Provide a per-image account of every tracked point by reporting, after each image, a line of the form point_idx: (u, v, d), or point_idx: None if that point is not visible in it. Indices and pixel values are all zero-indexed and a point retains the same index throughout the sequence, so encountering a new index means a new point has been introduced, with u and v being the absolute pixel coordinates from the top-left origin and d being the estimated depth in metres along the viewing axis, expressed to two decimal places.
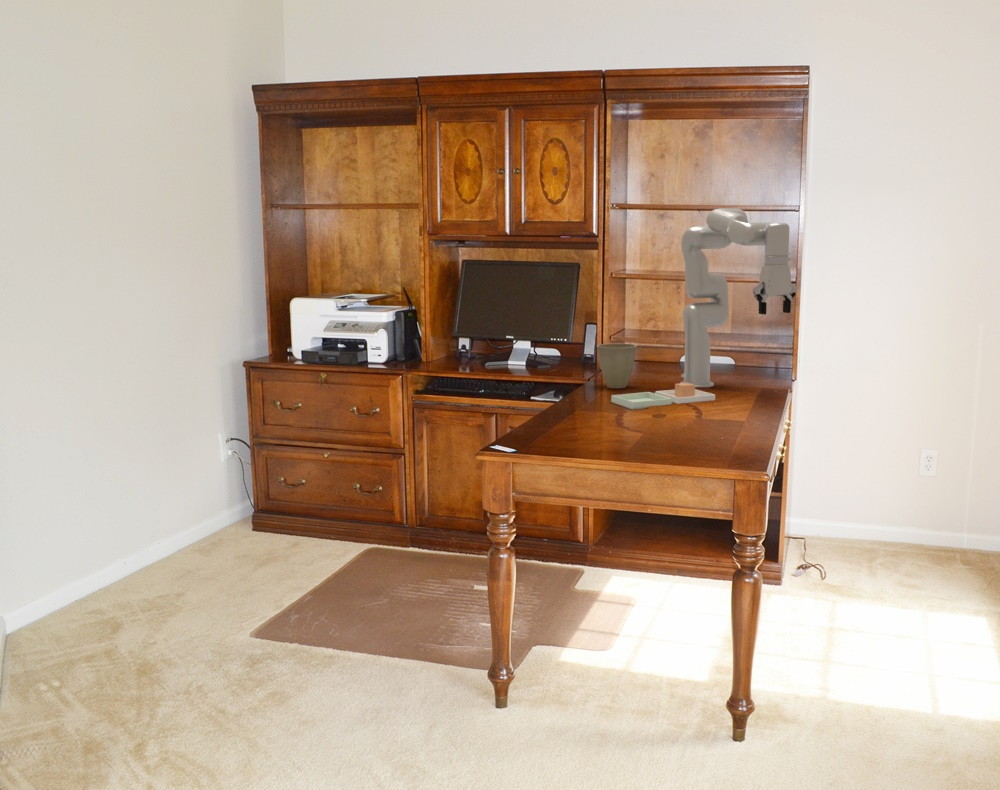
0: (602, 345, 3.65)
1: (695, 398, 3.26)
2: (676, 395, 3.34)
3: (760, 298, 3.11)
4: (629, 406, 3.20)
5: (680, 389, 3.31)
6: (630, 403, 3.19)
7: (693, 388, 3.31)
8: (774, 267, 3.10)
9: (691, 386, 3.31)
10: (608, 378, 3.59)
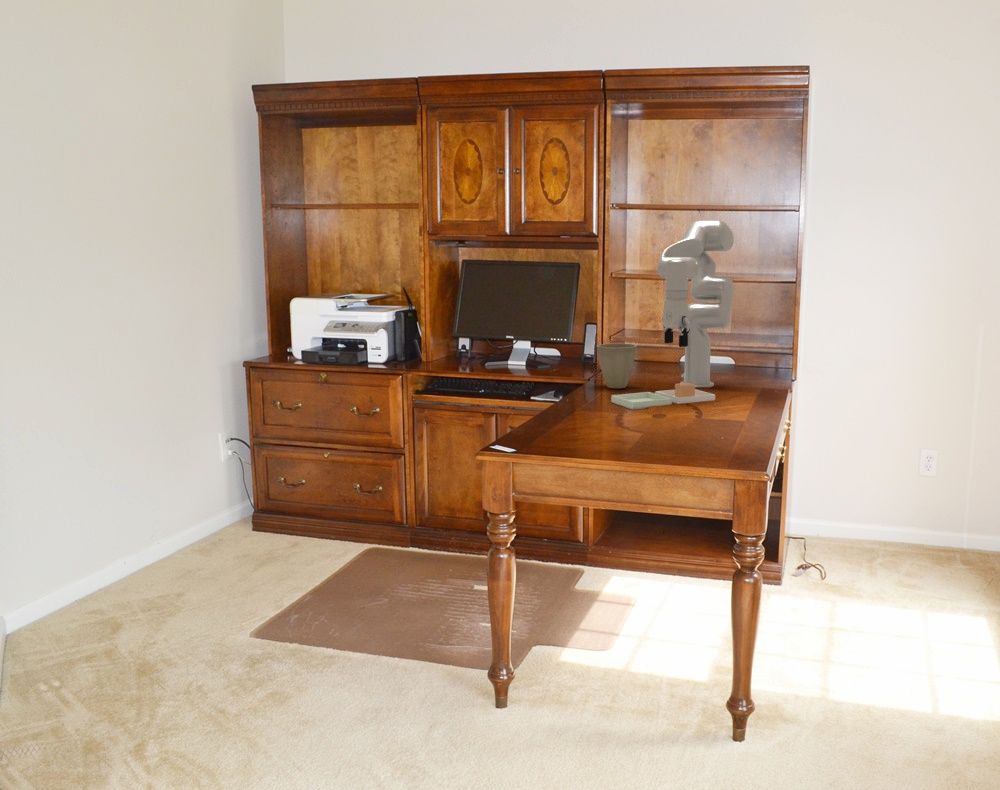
0: (602, 345, 3.65)
1: (695, 398, 3.26)
2: (676, 395, 3.34)
3: None
4: (629, 406, 3.20)
5: (680, 389, 3.31)
6: (630, 403, 3.19)
7: (693, 388, 3.31)
8: None
9: (691, 386, 3.31)
10: (608, 378, 3.59)
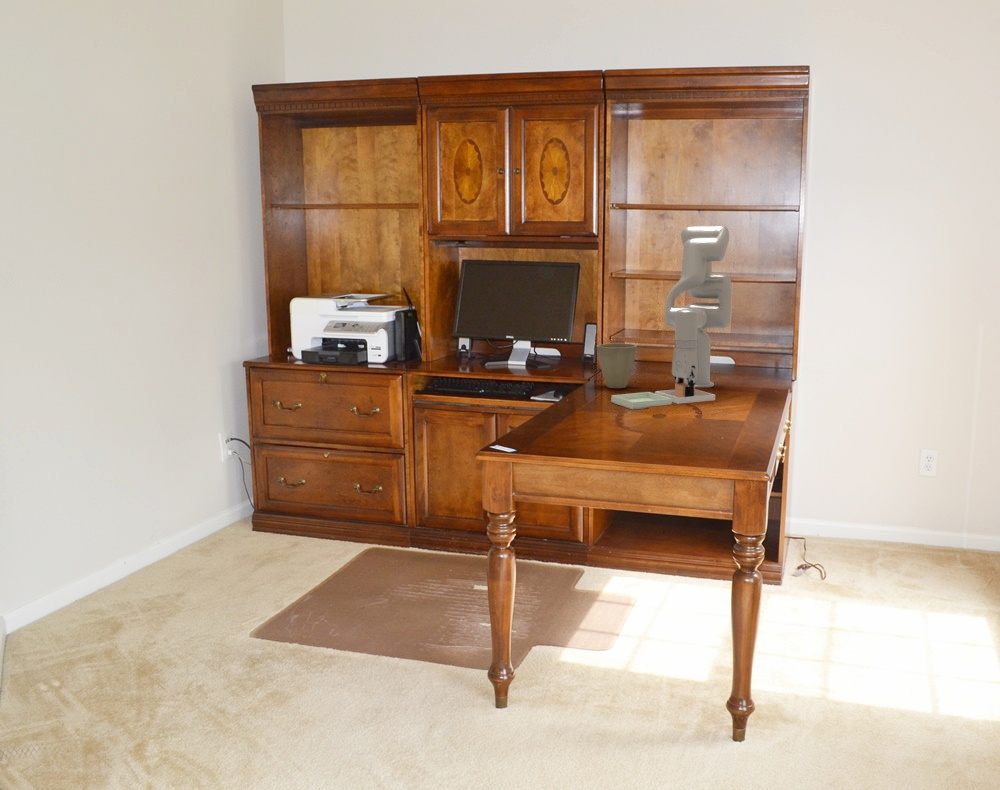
0: (602, 345, 3.65)
1: (695, 398, 3.26)
2: (676, 395, 3.34)
3: None
4: (629, 406, 3.20)
5: (680, 389, 3.31)
6: (630, 403, 3.19)
7: None
8: None
9: None
10: (608, 378, 3.59)
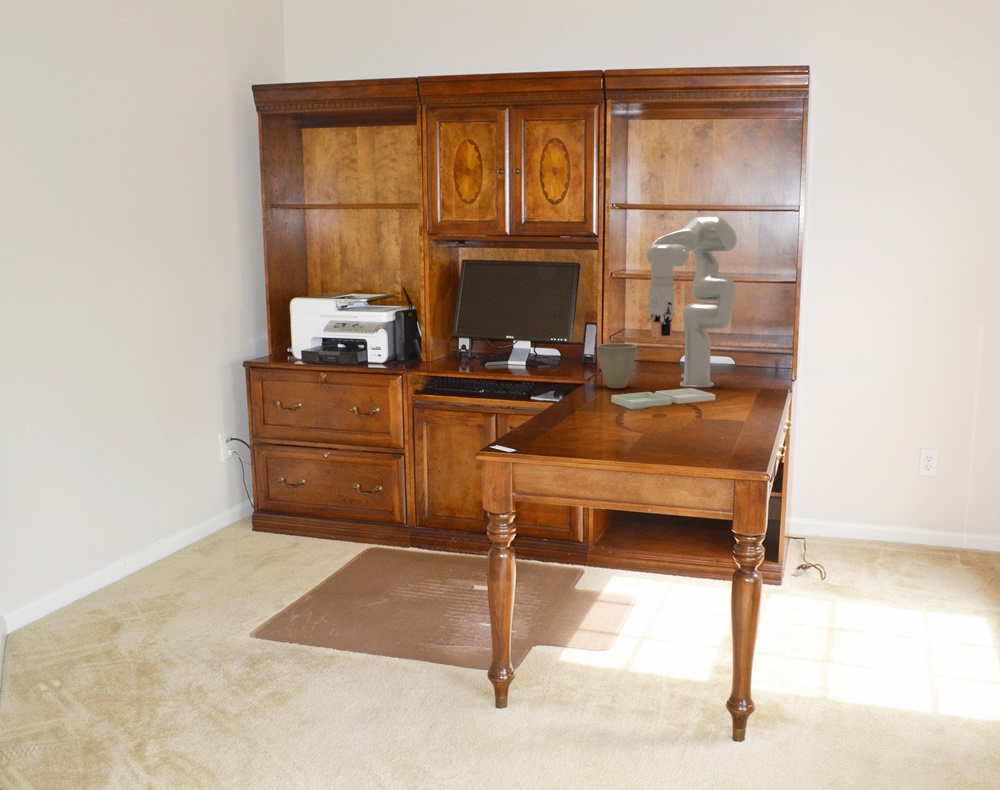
0: (602, 345, 3.65)
1: (695, 398, 3.26)
2: (652, 333, 3.30)
3: None
4: (629, 406, 3.20)
5: (656, 327, 3.27)
6: (630, 403, 3.19)
7: None
8: None
9: None
10: (608, 378, 3.59)
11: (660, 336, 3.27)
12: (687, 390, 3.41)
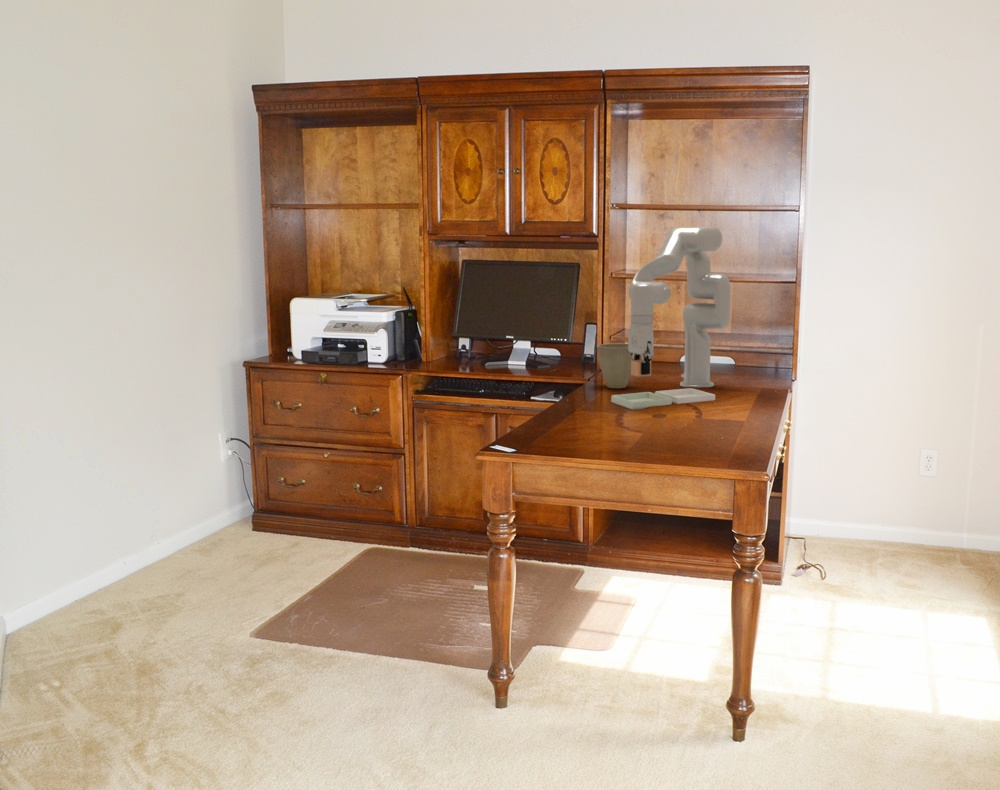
0: (602, 345, 3.65)
1: (695, 398, 3.26)
2: (632, 372, 3.26)
3: None
4: (629, 406, 3.20)
5: (635, 365, 3.23)
6: (630, 403, 3.19)
7: None
8: None
9: None
10: (608, 378, 3.59)
11: (639, 375, 3.22)
12: (687, 390, 3.41)
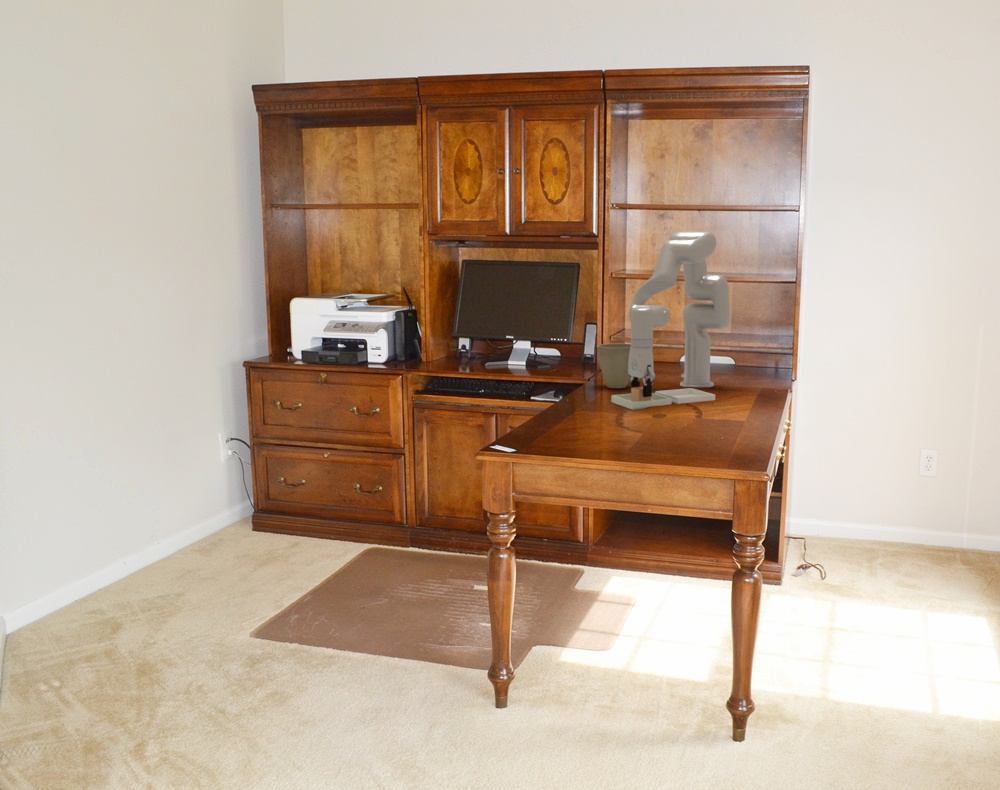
0: (602, 345, 3.65)
1: (695, 398, 3.26)
2: (632, 399, 3.27)
3: None
4: (629, 406, 3.20)
5: (636, 393, 3.25)
6: (630, 403, 3.19)
7: None
8: None
9: None
10: (608, 378, 3.59)
11: None
12: (687, 390, 3.41)
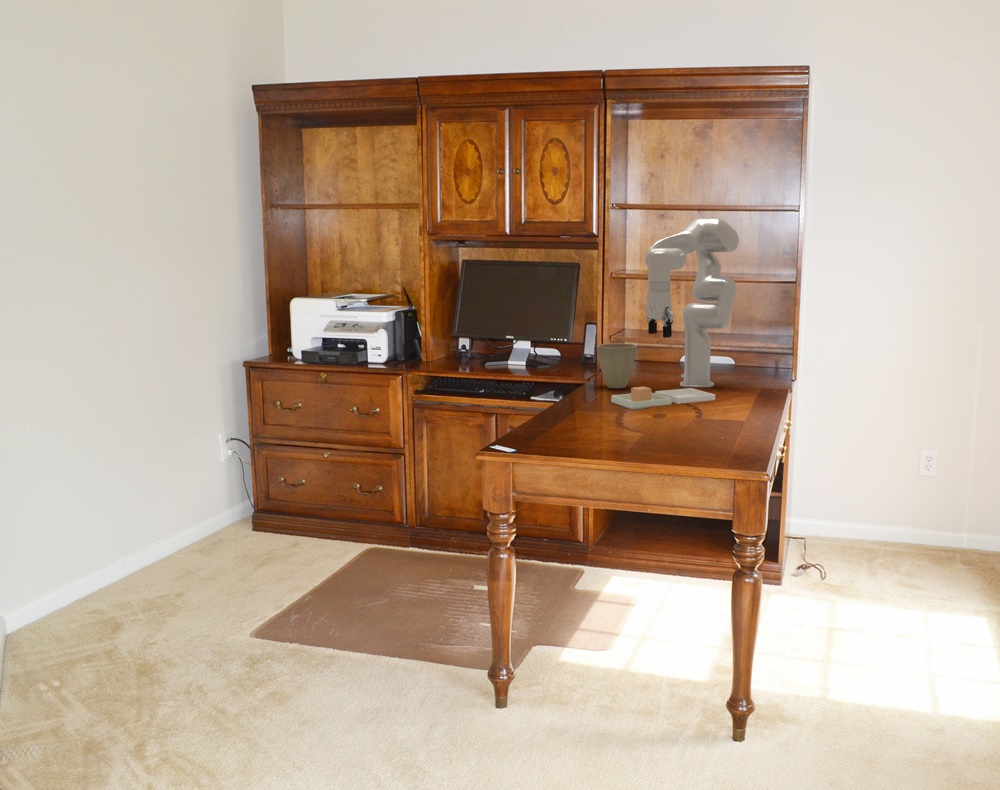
0: (602, 345, 3.65)
1: (695, 398, 3.26)
2: (632, 399, 3.27)
3: None
4: (629, 406, 3.20)
5: (636, 393, 3.25)
6: (630, 403, 3.19)
7: (649, 392, 3.25)
8: None
9: (647, 390, 3.25)
10: (608, 378, 3.59)
11: None
12: (687, 390, 3.41)
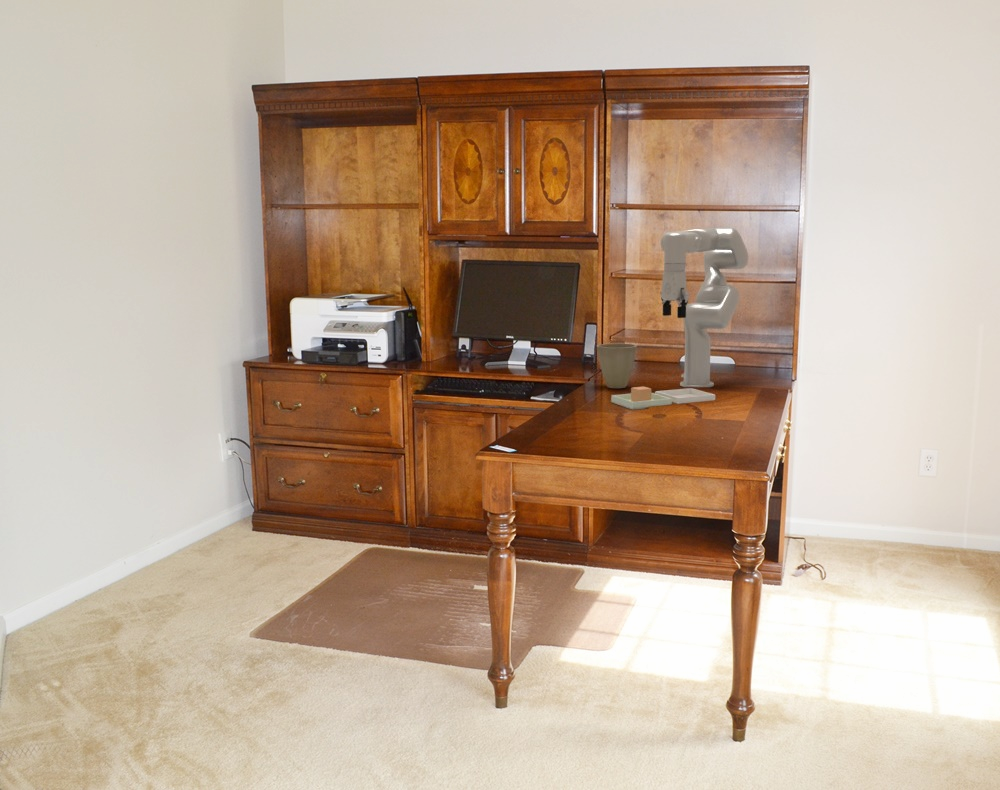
0: (602, 345, 3.65)
1: (695, 398, 3.26)
2: (632, 399, 3.27)
3: None
4: (629, 406, 3.20)
5: (636, 393, 3.25)
6: (630, 403, 3.19)
7: (649, 392, 3.25)
8: None
9: (647, 390, 3.25)
10: (608, 378, 3.59)
11: None
12: (687, 390, 3.41)
